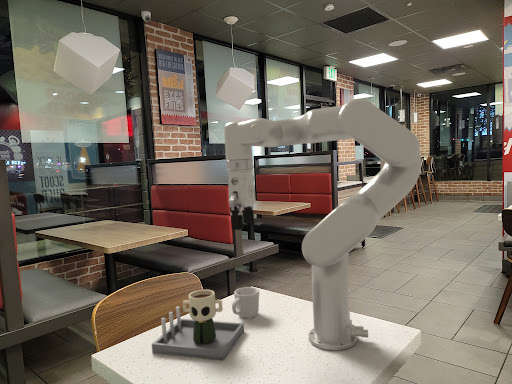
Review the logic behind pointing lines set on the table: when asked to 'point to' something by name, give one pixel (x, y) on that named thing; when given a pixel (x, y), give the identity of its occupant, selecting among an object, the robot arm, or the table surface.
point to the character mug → (203, 314)
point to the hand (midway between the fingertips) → (243, 226)
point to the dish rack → (182, 343)
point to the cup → (246, 302)
